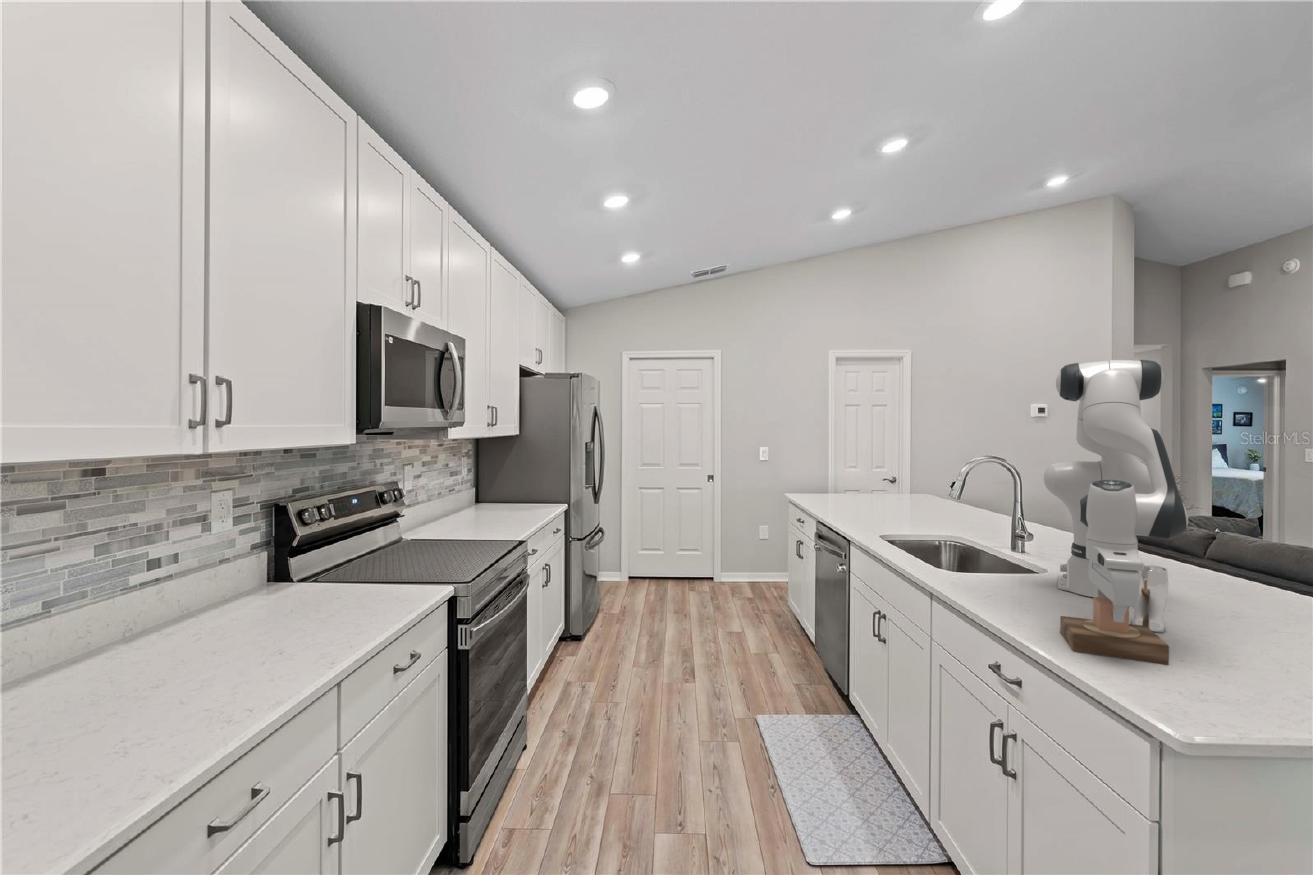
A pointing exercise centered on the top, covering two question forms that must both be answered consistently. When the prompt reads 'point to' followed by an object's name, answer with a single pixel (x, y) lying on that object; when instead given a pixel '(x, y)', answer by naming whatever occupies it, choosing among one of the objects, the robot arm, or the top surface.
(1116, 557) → the robot arm
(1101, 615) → the terracotta block
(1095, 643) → the block
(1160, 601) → the beer glass
